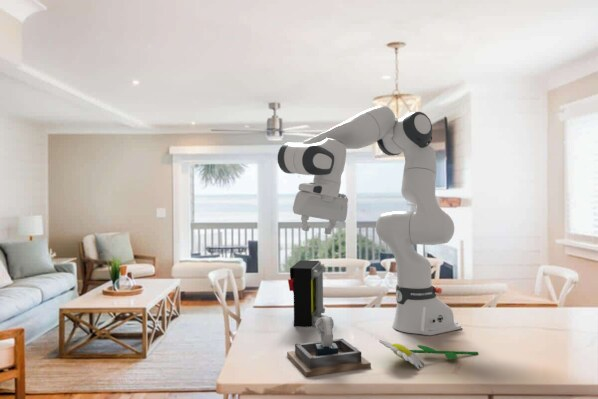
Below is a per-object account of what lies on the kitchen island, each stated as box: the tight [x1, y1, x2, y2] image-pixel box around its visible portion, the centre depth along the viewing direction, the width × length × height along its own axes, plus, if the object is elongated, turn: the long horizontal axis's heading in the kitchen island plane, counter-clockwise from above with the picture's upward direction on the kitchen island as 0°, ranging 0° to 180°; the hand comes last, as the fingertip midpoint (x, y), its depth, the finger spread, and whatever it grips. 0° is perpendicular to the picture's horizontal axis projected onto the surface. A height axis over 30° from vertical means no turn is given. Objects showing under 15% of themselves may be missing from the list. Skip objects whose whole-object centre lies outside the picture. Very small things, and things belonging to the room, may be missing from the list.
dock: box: [286, 338, 372, 378], centre depth 132 cm, size 18×16×4 cm
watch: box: [314, 315, 338, 356], centre depth 132 cm, size 6×8×11 cm
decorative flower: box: [378, 339, 479, 370], centre depth 133 cm, size 13×5×30 cm
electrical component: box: [287, 259, 326, 328], centre depth 174 cm, size 18×10×20 cm, turn 168°
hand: (316, 232), depth 156 cm, fingers open, 8 cm apart
